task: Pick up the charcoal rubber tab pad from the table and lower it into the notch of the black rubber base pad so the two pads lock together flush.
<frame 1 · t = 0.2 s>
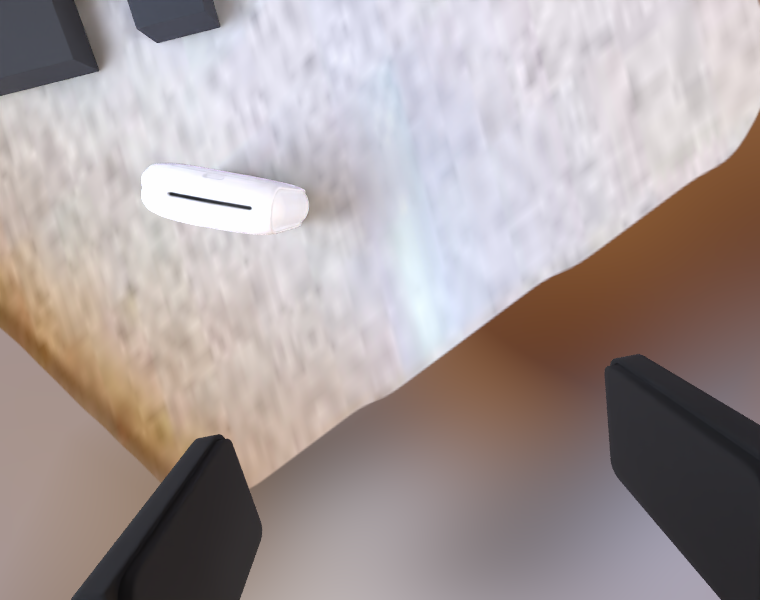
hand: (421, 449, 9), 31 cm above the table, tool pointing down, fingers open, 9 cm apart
photo printer: (259, 199, 38), on the table
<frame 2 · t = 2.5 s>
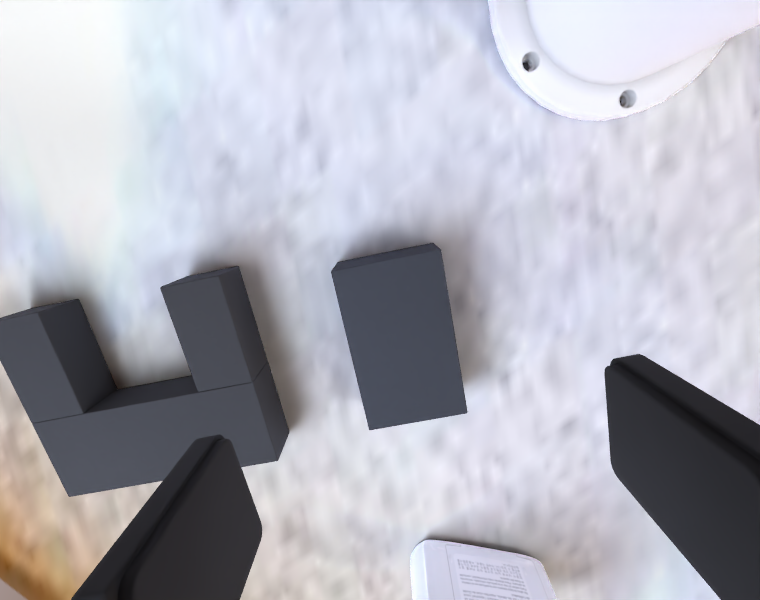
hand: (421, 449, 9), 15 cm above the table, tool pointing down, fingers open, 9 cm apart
photo printer: (473, 560, 29), on the table
tab pad: (400, 328, 24), on the table
base pad: (165, 373, 25), on the table
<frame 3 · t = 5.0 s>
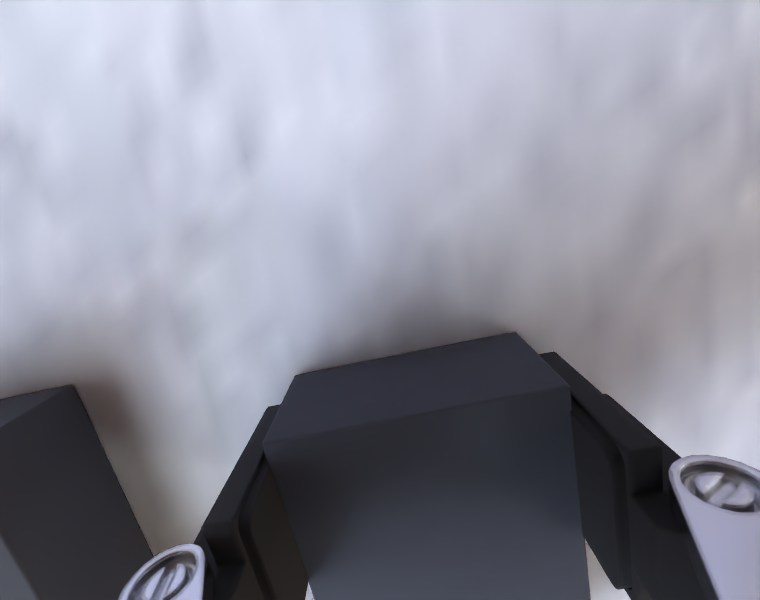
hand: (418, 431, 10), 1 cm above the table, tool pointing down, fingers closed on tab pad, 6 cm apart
tab pad: (436, 505, 11), on the table, touching gripper
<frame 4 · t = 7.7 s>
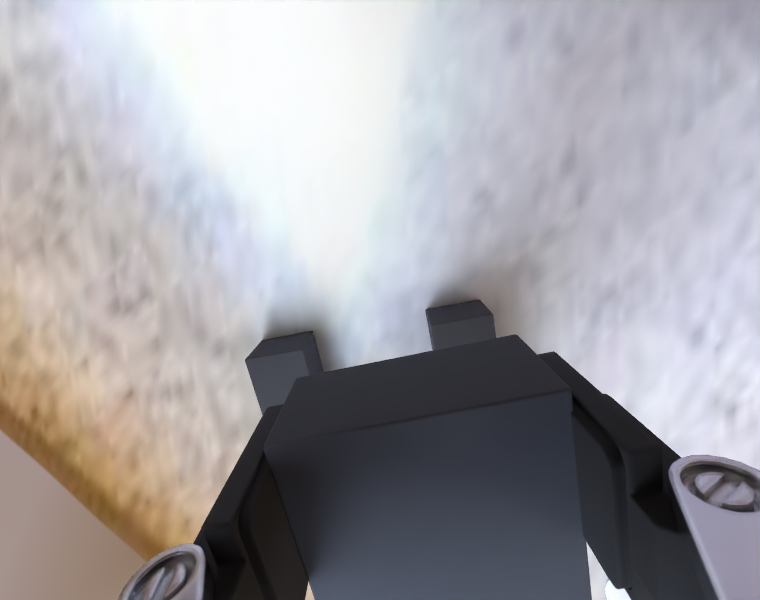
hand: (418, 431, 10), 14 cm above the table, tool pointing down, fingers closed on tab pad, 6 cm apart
photo printer: (666, 589, 29), on the table
tab pad: (436, 507, 11), point 13 cm above the table, touching gripper
base pad: (387, 404, 25), on the table
when the fingers open (0 cm above the table, at t = 10.6 s): tab pad stays where it is, on the table.
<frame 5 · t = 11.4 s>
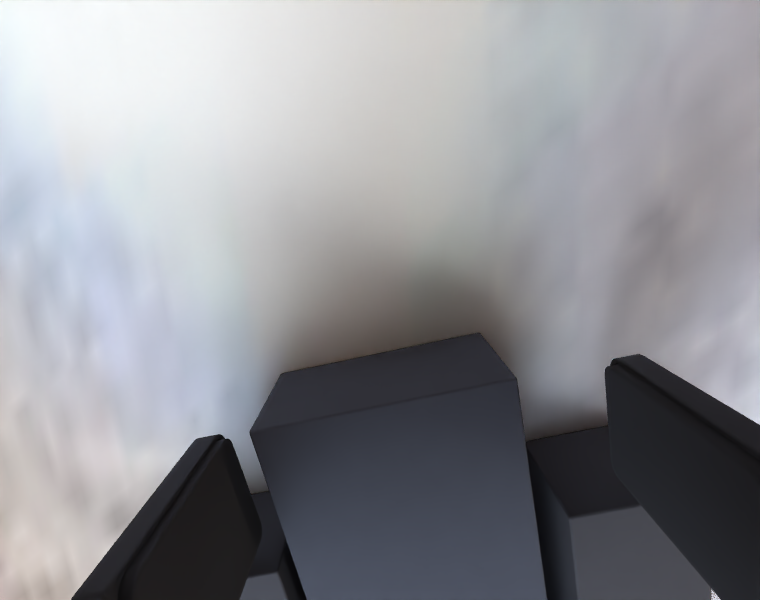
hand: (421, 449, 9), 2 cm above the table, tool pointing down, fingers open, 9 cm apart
tab pad: (411, 492, 12), on the table
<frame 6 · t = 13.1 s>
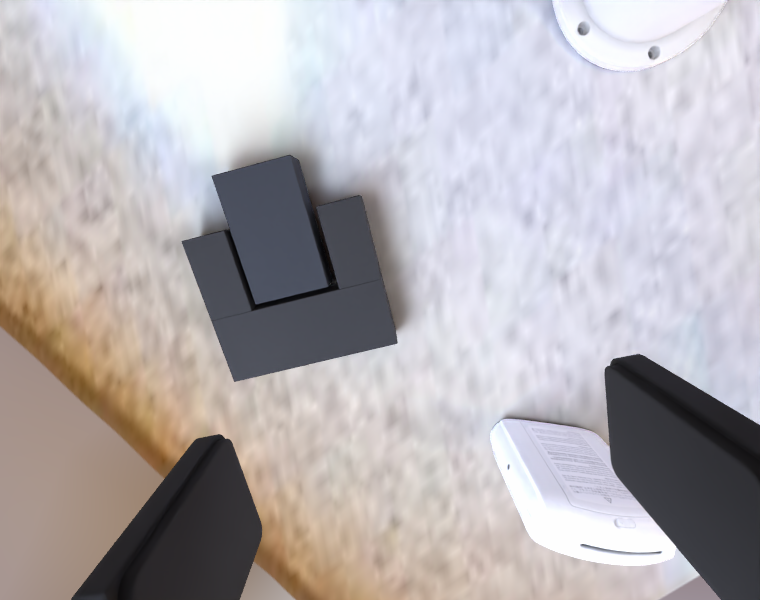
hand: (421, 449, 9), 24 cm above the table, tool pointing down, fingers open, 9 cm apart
photo printer: (540, 437, 37), on the table
tab pad: (281, 230, 31), on the table
base pad: (300, 286, 33), on the table
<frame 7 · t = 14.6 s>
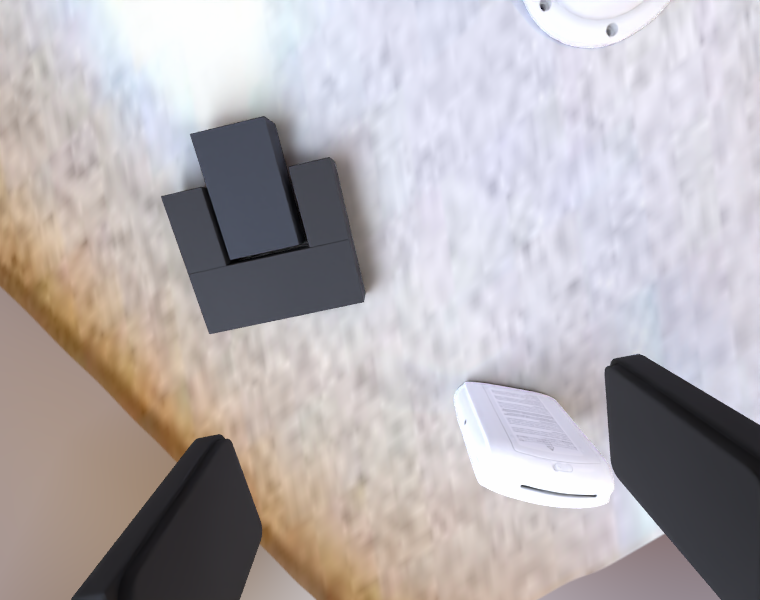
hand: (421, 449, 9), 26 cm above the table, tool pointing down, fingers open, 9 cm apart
photo printer: (501, 401, 38), on the table
tab pad: (258, 192, 33), on the table
base pad: (275, 246, 34), on the table
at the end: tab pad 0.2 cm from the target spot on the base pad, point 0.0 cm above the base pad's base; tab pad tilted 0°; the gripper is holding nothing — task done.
